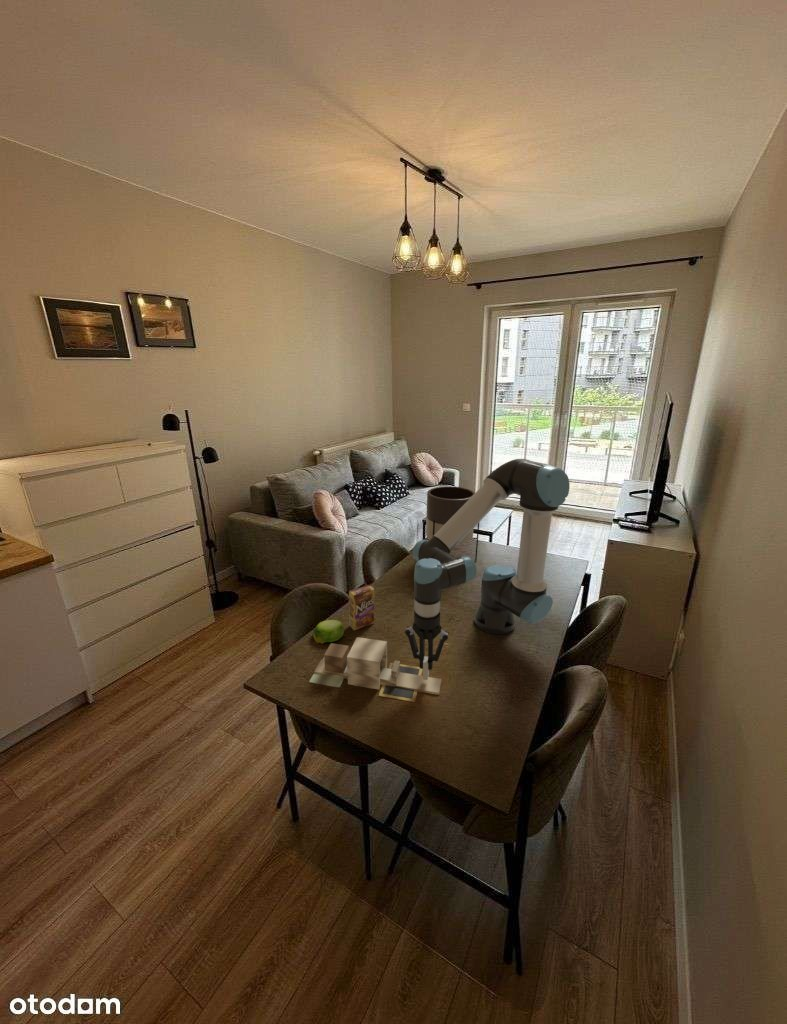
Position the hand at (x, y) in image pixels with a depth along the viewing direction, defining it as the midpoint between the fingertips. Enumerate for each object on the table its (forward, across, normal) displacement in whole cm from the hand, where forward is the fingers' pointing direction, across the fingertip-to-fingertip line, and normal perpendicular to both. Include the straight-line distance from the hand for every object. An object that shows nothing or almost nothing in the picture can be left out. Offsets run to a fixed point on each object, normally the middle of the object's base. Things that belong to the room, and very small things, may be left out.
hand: (425, 676), depth 128 cm
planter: (+4, +2, -89) cm, 90 cm away
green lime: (+3, +38, -16) cm, 42 cm away
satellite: (+3, +15, +1) cm, 16 cm away
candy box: (+3, +28, -25) cm, 38 cm away
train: (+2, +21, +1) cm, 21 cm away
